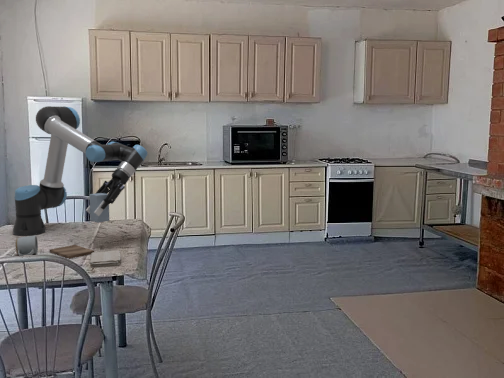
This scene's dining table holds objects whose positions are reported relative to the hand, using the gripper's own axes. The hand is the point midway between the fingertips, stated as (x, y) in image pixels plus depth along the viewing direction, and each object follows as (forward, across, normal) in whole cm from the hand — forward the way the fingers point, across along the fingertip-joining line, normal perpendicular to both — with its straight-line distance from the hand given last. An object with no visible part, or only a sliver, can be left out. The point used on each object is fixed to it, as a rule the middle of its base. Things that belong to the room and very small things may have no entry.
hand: (92, 213), depth 231 cm
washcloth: (+17, -22, -6) cm, 28 cm away
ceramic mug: (+29, +11, +6) cm, 32 cm away
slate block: (0, 0, -5) cm, 5 cm away
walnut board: (+19, 0, -4) cm, 19 cm away
